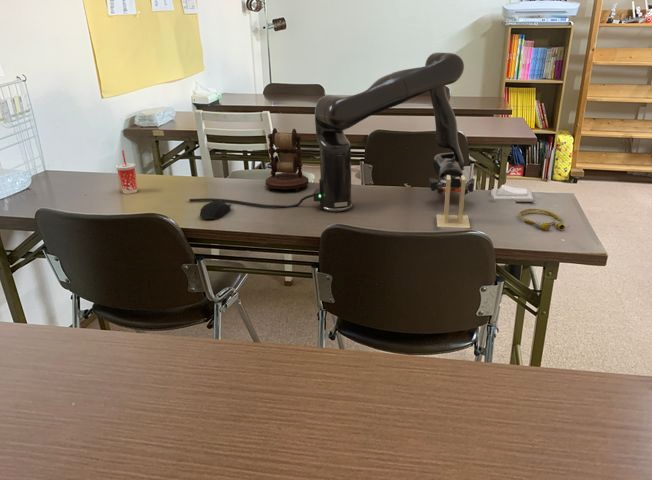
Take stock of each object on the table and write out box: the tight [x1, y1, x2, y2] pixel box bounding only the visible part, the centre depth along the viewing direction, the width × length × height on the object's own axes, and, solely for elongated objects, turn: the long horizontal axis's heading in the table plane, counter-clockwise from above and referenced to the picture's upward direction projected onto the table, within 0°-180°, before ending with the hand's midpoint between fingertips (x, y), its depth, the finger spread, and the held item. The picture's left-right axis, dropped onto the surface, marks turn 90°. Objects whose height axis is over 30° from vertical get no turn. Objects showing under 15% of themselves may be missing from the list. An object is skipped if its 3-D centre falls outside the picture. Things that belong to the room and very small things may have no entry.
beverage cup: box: [115, 150, 138, 195], centre depth 186 cm, size 6×6×14 cm
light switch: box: [490, 184, 534, 203], centre depth 180 cm, size 11×4×13 cm
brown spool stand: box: [264, 127, 310, 192], centre depth 188 cm, size 15×15×20 cm
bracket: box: [436, 174, 471, 229], centre depth 155 cm, size 10×9×14 cm
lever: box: [443, 179, 460, 193], centre depth 158 cm, size 13×6×2 cm, turn 174°
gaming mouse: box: [199, 200, 232, 220], centre depth 168 cm, size 6×15×4 cm, turn 163°
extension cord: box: [518, 208, 565, 231], centre depth 160 cm, size 12×16×2 cm
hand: (453, 191), depth 162 cm, fingers closed on lever, 6 cm apart
